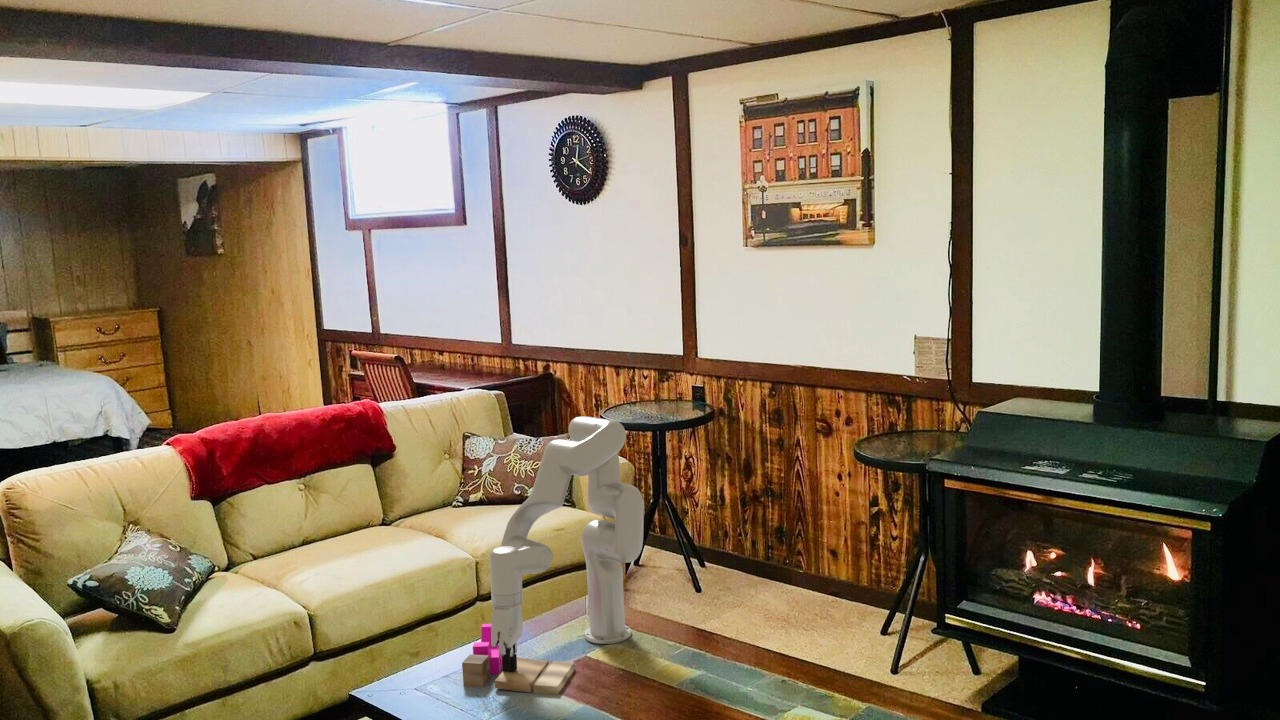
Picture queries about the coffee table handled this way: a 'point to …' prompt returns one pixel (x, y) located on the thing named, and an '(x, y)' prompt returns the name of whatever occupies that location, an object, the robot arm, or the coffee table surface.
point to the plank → (522, 675)
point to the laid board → (553, 677)
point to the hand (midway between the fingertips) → (509, 670)
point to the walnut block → (476, 670)
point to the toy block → (488, 649)
